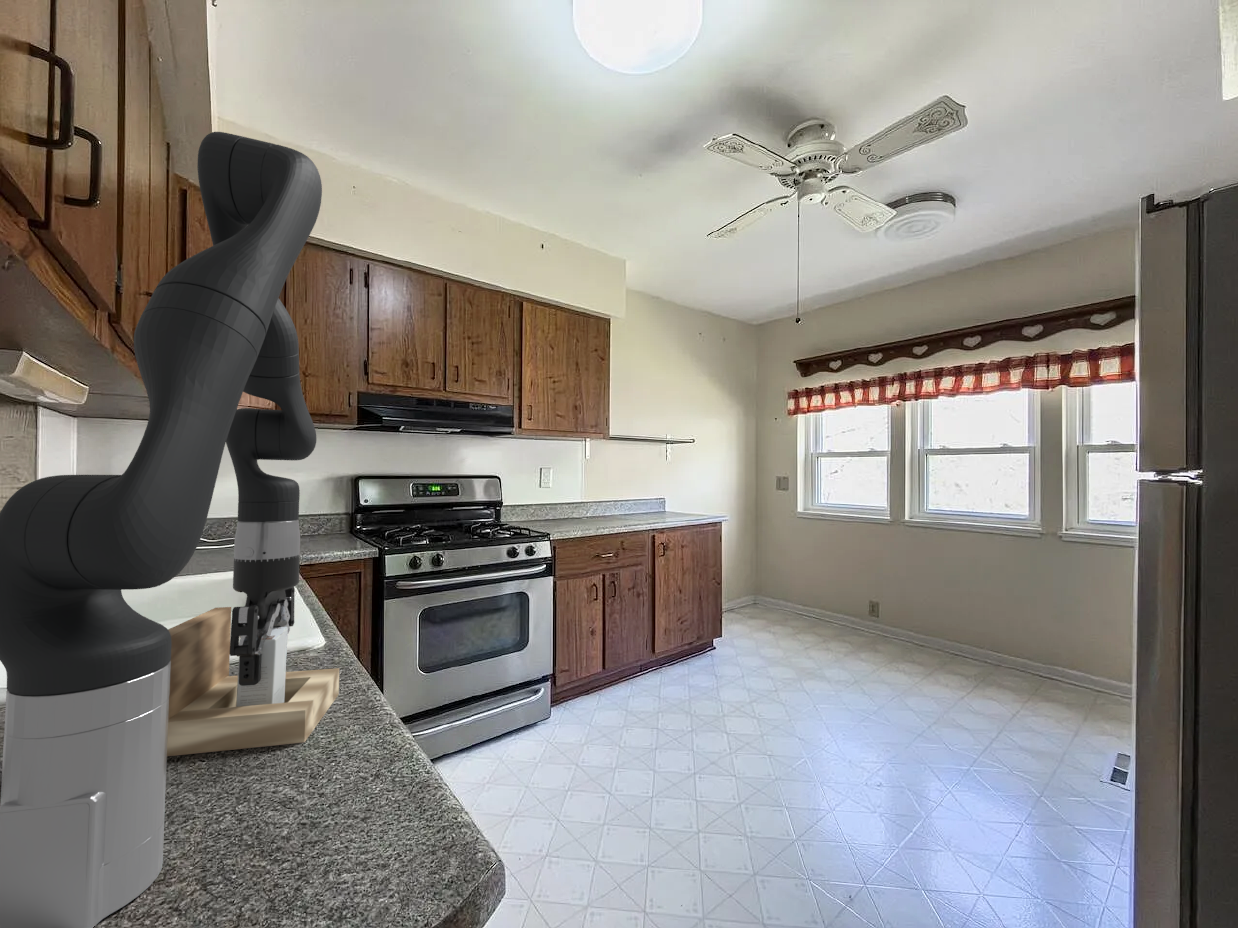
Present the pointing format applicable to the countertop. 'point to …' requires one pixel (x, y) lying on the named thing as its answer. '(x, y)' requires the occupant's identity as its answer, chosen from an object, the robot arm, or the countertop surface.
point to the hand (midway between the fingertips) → (263, 672)
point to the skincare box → (268, 673)
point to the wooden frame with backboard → (234, 695)
